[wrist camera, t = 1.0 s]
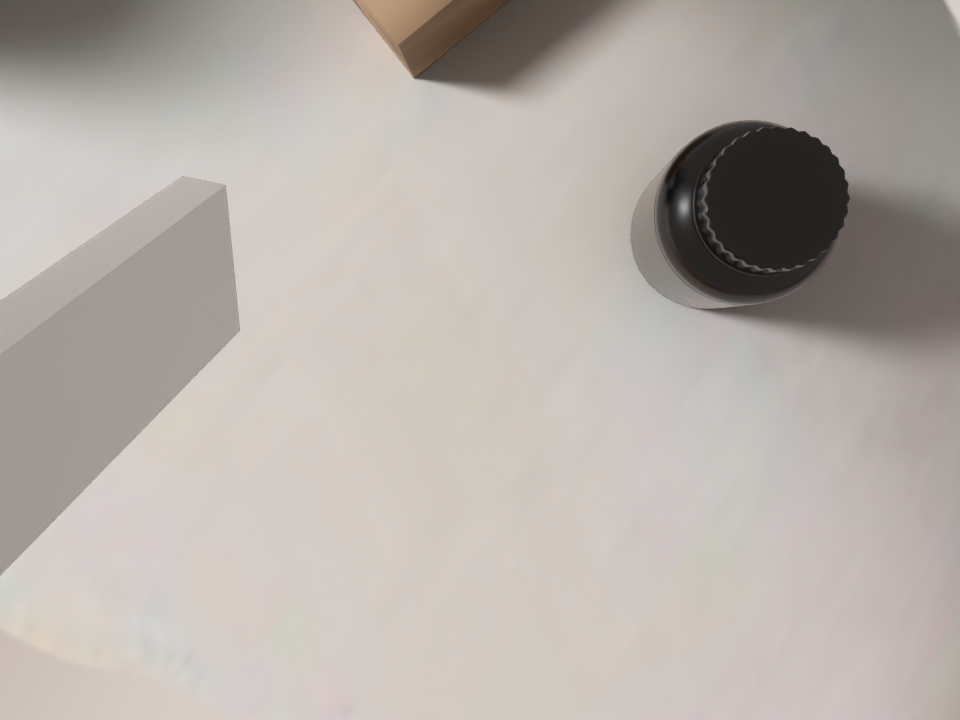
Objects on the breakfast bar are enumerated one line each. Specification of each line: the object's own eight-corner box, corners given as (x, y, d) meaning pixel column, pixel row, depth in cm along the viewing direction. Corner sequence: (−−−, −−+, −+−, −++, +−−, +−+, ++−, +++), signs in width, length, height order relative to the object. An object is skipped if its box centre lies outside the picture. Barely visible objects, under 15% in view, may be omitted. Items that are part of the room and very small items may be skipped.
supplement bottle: (677, 337, 42) (734, 342, 30) (601, 210, 42) (628, 163, 30) (809, 260, 41) (920, 233, 30) (731, 131, 41) (812, 52, 30)
